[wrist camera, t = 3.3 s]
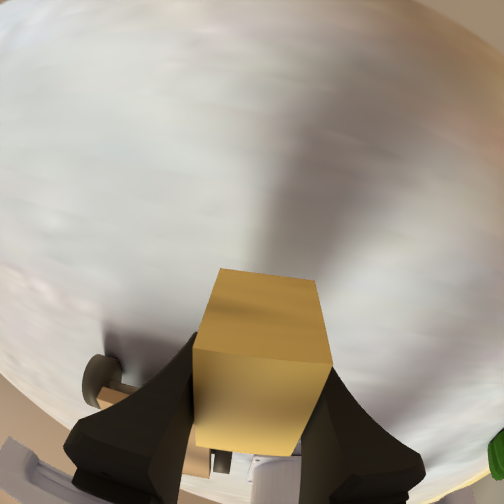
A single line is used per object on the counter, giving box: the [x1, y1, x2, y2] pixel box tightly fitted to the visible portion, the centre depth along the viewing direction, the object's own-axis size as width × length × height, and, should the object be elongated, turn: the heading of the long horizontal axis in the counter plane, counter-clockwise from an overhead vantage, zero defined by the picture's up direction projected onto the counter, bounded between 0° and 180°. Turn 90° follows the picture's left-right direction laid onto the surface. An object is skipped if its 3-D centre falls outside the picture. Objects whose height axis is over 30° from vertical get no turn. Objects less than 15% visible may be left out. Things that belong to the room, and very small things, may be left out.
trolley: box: [82, 354, 232, 479], centre depth 20 cm, size 11×11×5 cm
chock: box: [193, 268, 333, 456], centre depth 11 cm, size 7×4×5 cm, turn 173°
